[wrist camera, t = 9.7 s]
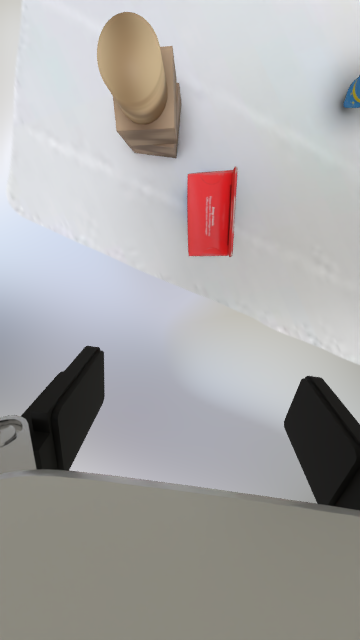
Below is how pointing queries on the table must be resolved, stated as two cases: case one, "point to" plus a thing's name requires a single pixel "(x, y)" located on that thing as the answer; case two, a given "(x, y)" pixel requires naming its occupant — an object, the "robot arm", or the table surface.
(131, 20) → the beige knob
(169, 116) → the top block
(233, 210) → the ink box
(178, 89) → the bottom block
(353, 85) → the ornament
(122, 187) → the table surface
